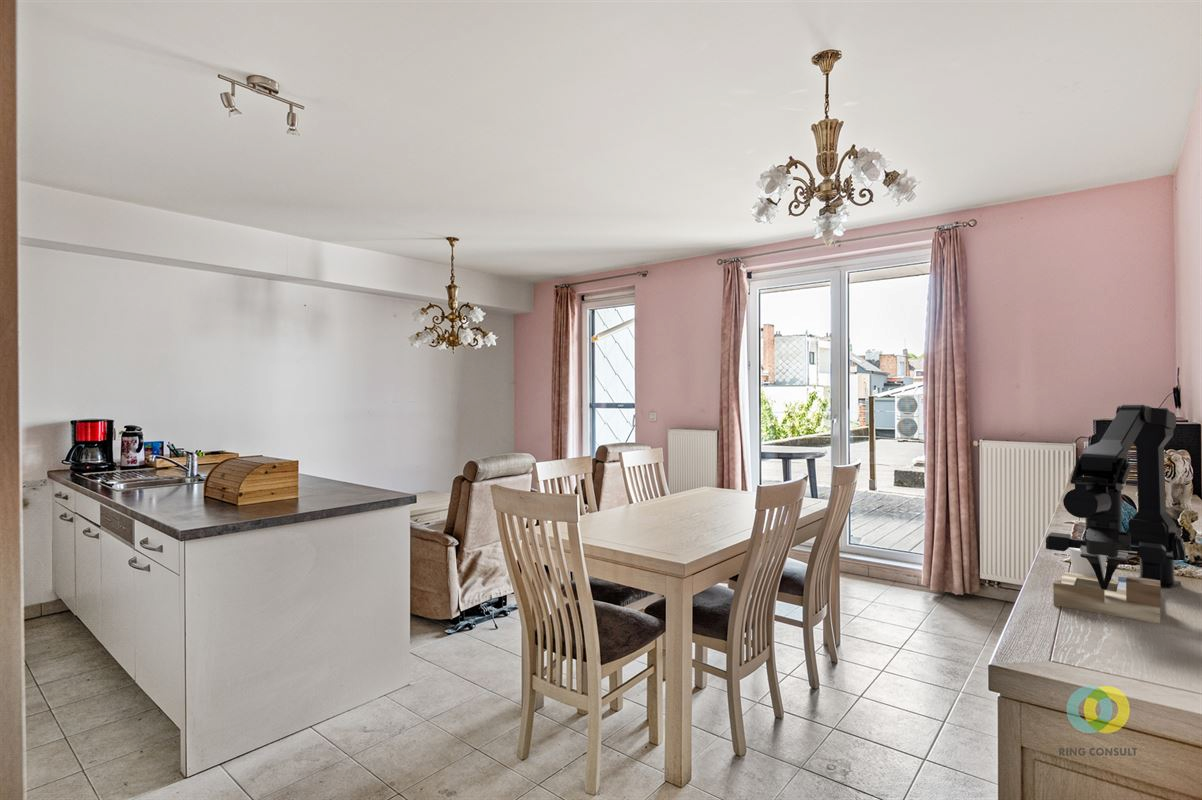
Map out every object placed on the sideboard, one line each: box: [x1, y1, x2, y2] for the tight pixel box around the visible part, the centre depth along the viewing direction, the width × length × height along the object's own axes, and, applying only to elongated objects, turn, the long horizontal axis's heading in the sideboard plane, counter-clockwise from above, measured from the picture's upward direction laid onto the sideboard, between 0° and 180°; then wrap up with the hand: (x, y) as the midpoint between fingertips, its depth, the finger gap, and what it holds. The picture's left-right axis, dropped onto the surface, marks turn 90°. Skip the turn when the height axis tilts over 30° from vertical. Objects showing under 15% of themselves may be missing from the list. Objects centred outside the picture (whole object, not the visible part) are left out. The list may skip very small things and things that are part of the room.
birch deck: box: [1052, 571, 1161, 625], centre depth 127 cm, size 22×16×4 cm
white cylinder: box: [1068, 547, 1108, 577], centre depth 141 cm, size 7×7×7 cm
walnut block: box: [1126, 575, 1162, 608], centre depth 120 cm, size 5×5×4 cm
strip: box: [1117, 575, 1127, 589], centre depth 129 cm, size 8×6×3 cm
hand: (1104, 589), depth 124 cm, fingers closed
